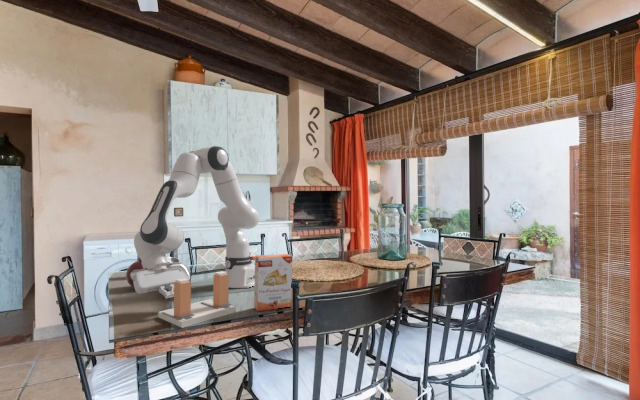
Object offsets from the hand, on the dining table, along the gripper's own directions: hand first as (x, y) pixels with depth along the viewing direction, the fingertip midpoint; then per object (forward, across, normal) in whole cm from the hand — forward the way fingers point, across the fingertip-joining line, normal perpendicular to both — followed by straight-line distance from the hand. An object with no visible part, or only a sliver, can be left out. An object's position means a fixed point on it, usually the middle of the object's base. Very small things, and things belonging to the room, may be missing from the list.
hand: (170, 296), depth 133 cm
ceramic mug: (-31, +33, +42) cm, 62 cm away
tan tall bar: (+10, +16, -3) cm, 19 cm away
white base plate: (+9, +8, +1) cm, 12 cm away
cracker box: (+20, +31, -10) cm, 39 cm away
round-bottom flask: (-28, +12, +39) cm, 49 cm away
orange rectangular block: (+10, 0, -2) cm, 10 cm away
